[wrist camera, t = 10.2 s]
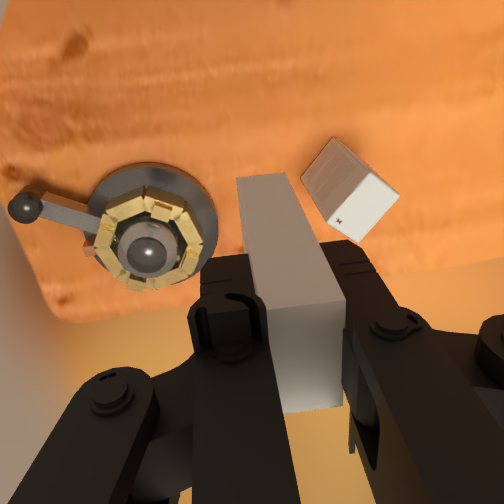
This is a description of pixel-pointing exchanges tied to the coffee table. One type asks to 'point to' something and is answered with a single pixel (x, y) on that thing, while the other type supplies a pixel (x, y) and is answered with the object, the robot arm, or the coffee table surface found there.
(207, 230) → the housing
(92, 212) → the ball lever
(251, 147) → the coffee table surface
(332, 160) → the skincare box
